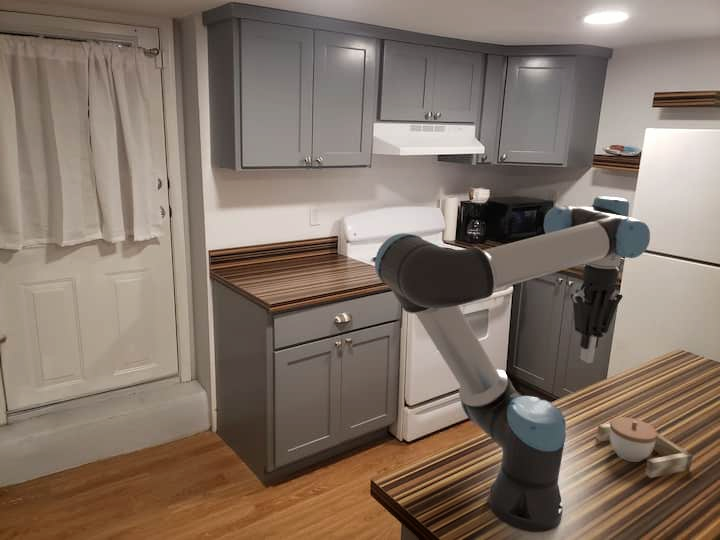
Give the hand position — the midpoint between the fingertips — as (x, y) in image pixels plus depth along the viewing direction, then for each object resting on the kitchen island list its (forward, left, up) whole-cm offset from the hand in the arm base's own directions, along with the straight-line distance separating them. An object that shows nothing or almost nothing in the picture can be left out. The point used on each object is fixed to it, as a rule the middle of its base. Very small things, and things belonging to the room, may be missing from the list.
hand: (586, 360), depth 135 cm
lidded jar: (+15, -3, -26) cm, 30 cm away
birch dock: (+18, -4, -26) cm, 32 cm away
